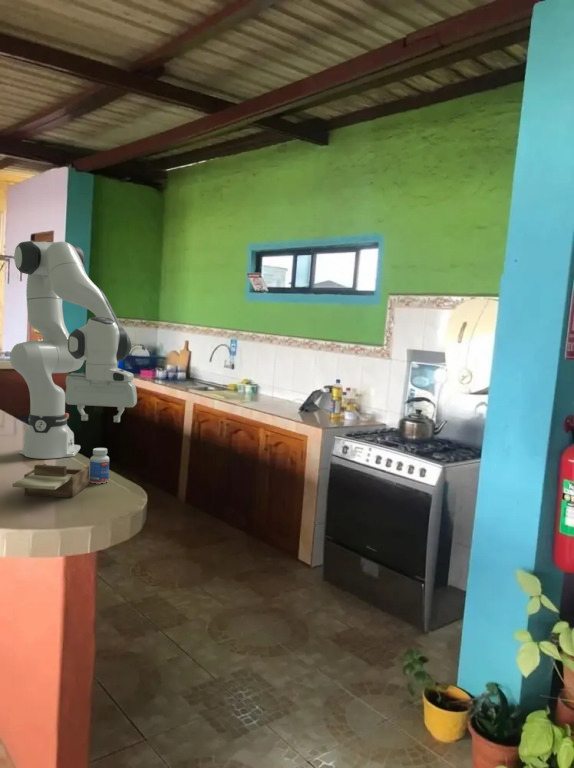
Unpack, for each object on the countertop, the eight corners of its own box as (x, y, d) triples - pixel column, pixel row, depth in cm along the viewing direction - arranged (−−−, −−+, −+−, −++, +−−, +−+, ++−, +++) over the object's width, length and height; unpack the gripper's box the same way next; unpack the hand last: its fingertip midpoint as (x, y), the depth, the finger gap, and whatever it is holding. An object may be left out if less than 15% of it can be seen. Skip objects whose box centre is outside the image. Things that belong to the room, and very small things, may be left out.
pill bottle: (103, 485, 183) (103, 451, 182) (86, 483, 184) (86, 450, 183) (112, 480, 188) (112, 448, 187) (95, 478, 189) (96, 446, 188)
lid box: (43, 482, 182) (44, 464, 181) (88, 485, 181) (89, 466, 181) (24, 494, 169) (24, 474, 168) (72, 497, 169) (72, 477, 168)
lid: (34, 474, 172) (34, 463, 172) (73, 477, 172) (73, 465, 172) (12, 487, 159) (12, 474, 159) (55, 489, 159) (55, 476, 159)
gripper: (61, 372, 180) (61, 421, 181) (133, 376, 180) (132, 424, 181) (69, 371, 186) (69, 418, 188) (139, 374, 186) (137, 421, 187)
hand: (100, 421), depth 184 cm, fingers open, 8 cm apart
